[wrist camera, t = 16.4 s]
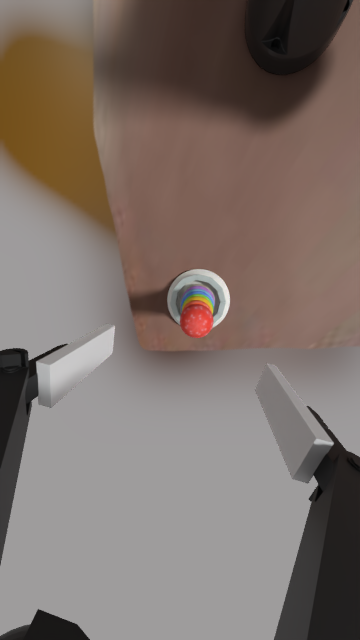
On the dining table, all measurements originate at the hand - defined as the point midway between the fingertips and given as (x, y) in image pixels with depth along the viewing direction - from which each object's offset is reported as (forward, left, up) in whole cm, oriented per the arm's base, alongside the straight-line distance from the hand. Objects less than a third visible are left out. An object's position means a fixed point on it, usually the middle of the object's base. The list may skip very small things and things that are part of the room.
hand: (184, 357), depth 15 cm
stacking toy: (0, 0, -28) cm, 28 cm away
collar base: (0, 0, -29) cm, 29 cm away
